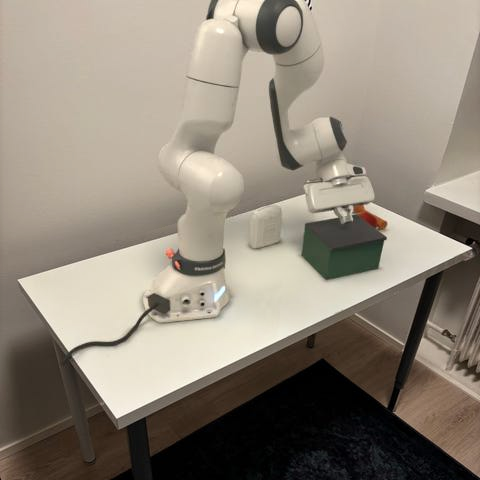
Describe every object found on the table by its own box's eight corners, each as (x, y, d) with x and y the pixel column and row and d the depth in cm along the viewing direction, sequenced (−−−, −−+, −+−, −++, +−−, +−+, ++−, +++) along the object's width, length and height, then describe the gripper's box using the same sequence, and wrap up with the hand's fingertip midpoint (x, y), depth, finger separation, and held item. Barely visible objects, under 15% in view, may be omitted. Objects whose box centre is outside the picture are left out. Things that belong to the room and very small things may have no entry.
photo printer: (273, 236, 161) (276, 200, 153) (281, 242, 158) (284, 205, 151) (247, 244, 156) (248, 207, 149) (255, 250, 153) (256, 213, 146)
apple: (374, 242, 160) (379, 219, 155) (349, 239, 161) (353, 216, 156) (374, 231, 166) (378, 208, 161) (349, 228, 167) (353, 206, 162)
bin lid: (386, 240, 140) (387, 237, 140) (332, 251, 135) (332, 248, 134) (355, 216, 151) (356, 214, 151) (304, 226, 146) (304, 223, 145)
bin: (378, 268, 147) (384, 238, 141) (326, 280, 141) (330, 249, 135) (350, 245, 157) (355, 217, 151) (301, 255, 152) (304, 226, 146)
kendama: (376, 221, 162) (340, 193, 175) (375, 236, 167) (339, 208, 180) (391, 214, 164) (354, 188, 177) (389, 229, 168) (353, 202, 181)
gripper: (306, 176, 135) (320, 224, 134) (369, 167, 142) (383, 213, 141) (296, 185, 141) (310, 232, 140) (358, 176, 148) (371, 221, 147)
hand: (347, 222), depth 141 cm, fingers closed
